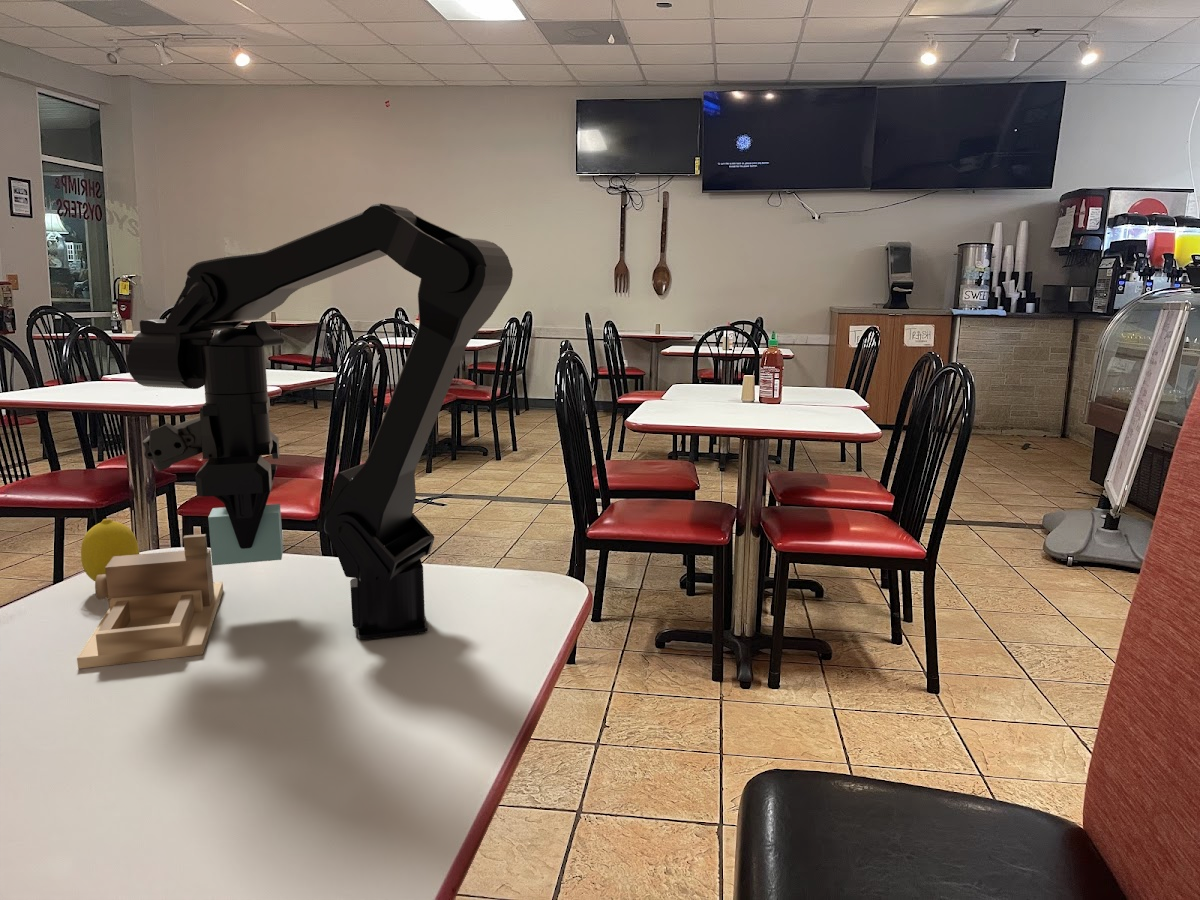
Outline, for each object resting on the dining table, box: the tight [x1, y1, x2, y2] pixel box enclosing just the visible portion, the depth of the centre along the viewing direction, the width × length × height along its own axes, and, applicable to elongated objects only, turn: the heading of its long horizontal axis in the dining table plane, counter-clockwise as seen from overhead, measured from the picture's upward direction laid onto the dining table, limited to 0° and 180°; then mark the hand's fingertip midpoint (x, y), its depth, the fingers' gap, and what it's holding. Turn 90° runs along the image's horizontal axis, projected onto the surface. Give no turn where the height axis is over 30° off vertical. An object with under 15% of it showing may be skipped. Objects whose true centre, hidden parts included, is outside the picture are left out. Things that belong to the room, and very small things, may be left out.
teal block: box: [207, 503, 284, 567], centre depth 87 cm, size 4×6×5 cm, turn 108°
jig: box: [76, 581, 224, 670], centre depth 84 cm, size 10×17×3 cm, turn 18°
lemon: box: [80, 518, 140, 582], centre depth 93 cm, size 6×6×8 cm
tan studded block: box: [94, 533, 214, 607], centre depth 86 cm, size 10×4×7 cm, turn 108°
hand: (247, 542), depth 87 cm, fingers closed on teal block, 3 cm apart
